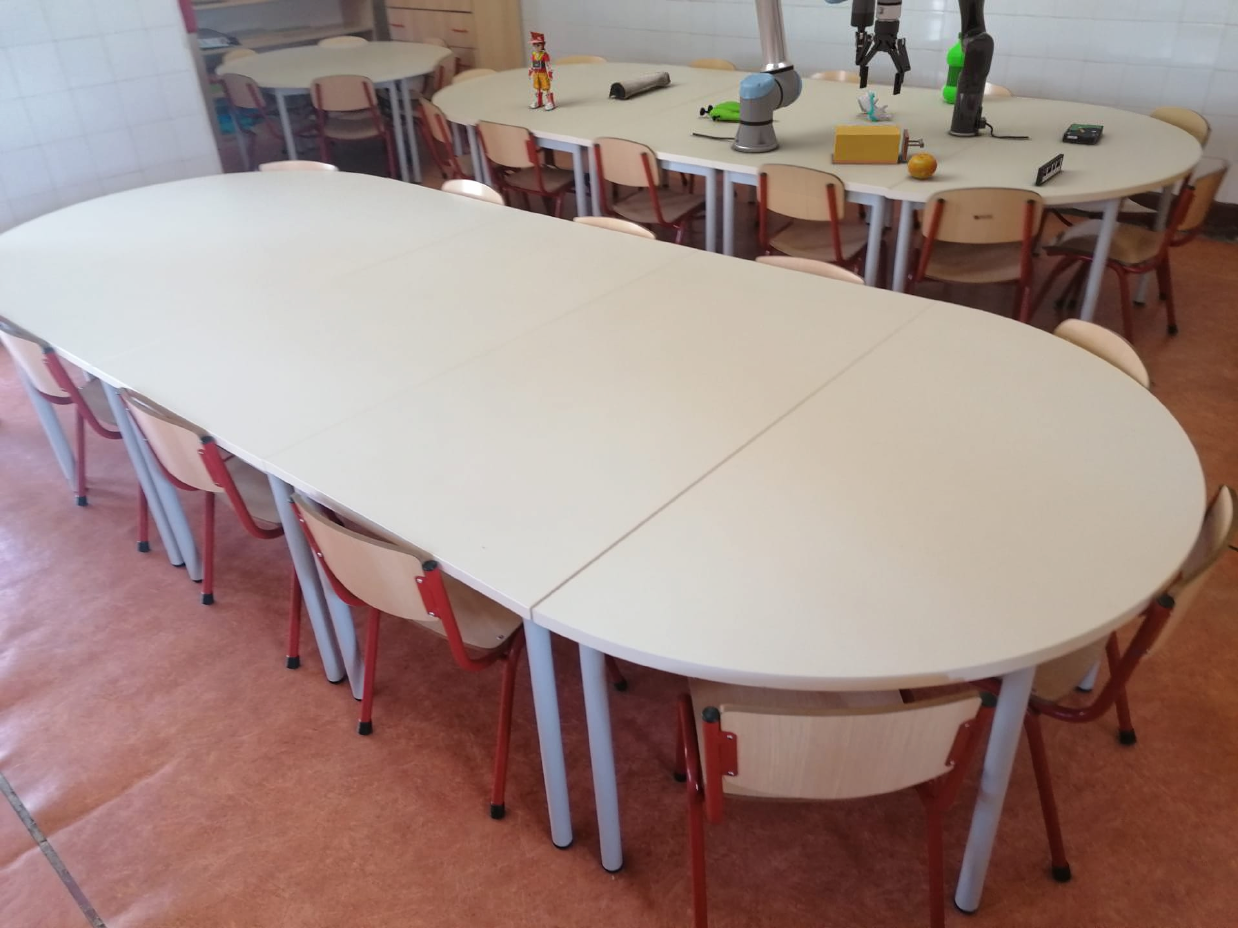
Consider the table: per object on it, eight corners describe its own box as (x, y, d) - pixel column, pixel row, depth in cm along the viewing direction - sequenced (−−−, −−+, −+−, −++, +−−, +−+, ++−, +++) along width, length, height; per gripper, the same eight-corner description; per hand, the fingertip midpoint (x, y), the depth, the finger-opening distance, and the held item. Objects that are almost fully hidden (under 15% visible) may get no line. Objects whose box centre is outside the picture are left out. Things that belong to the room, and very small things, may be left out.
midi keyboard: (1039, 185, 269) (1043, 168, 266) (1035, 184, 270) (1038, 168, 267) (1060, 170, 279) (1064, 154, 277) (1056, 169, 280) (1060, 153, 277)
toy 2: (690, 119, 348) (760, 132, 336) (691, 105, 346) (762, 118, 333) (721, 108, 369) (789, 120, 356) (723, 95, 366) (791, 106, 353)
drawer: (920, 152, 300) (923, 129, 296) (923, 160, 293) (926, 137, 288) (846, 151, 305) (848, 129, 300) (846, 160, 297) (848, 137, 293)
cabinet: (895, 154, 303) (898, 126, 297) (897, 163, 294) (900, 134, 289) (833, 154, 306) (835, 126, 301) (833, 163, 298) (836, 134, 293)
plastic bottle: (973, 101, 354) (984, 32, 339) (955, 106, 349) (966, 36, 335) (952, 97, 361) (962, 29, 346) (934, 102, 356) (944, 33, 342)
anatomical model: (852, 90, 344) (878, 82, 343) (855, 117, 350) (880, 110, 349) (864, 99, 332) (891, 92, 331) (867, 127, 338) (893, 120, 337)
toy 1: (525, 109, 381) (517, 32, 364) (534, 104, 388) (527, 28, 371) (550, 110, 377) (543, 32, 360) (559, 105, 384) (553, 28, 367)
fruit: (901, 168, 278) (918, 145, 275) (903, 171, 286) (919, 148, 282) (924, 184, 276) (941, 161, 273) (925, 186, 284) (942, 163, 281)
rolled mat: (651, 76, 408) (662, 61, 399) (662, 93, 408) (674, 79, 400) (605, 92, 391) (616, 77, 383) (617, 110, 391) (628, 95, 383)
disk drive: (1095, 145, 299) (1102, 133, 309) (1097, 137, 298) (1104, 125, 308) (1061, 142, 304) (1069, 130, 314) (1063, 134, 302) (1071, 122, 312)
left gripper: (848, 17, 286) (842, 87, 298) (912, 25, 270) (903, 99, 282) (864, 14, 290) (857, 83, 302) (928, 21, 273) (918, 95, 285)
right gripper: (875, 13, 290) (870, 67, 300) (874, 6, 302) (869, 58, 311) (851, 14, 292) (847, 67, 301) (851, 7, 303) (847, 58, 313)
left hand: (879, 91), depth 292 cm, fingers open, 13 cm apart
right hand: (858, 62), depth 306 cm, fingers open, 8 cm apart
